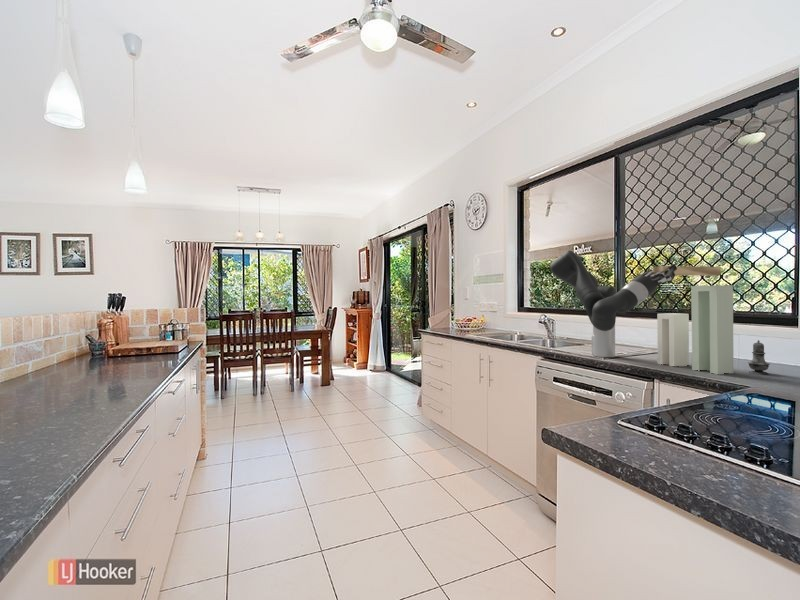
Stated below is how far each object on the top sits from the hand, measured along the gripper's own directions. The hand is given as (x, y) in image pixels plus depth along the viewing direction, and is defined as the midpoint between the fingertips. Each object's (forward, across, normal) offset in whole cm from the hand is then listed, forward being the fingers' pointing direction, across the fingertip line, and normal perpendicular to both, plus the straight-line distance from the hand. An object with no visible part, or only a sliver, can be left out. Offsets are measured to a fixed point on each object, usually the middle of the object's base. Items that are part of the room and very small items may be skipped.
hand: (669, 266), depth 135 cm
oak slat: (+6, 0, +7) cm, 9 cm away
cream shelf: (-2, +15, +44) cm, 46 cm away
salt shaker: (+9, -8, +50) cm, 51 cm away
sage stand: (-2, 0, +44) cm, 44 cm away
